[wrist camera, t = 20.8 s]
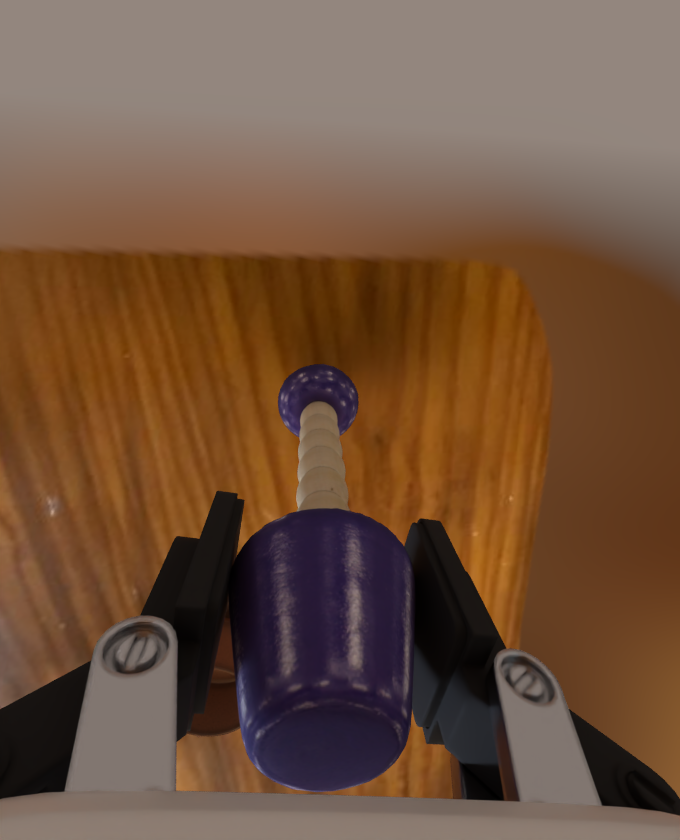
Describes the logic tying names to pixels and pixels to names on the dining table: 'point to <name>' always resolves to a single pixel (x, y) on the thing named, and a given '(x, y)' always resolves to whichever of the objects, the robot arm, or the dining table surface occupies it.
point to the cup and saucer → (220, 692)
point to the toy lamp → (322, 615)
